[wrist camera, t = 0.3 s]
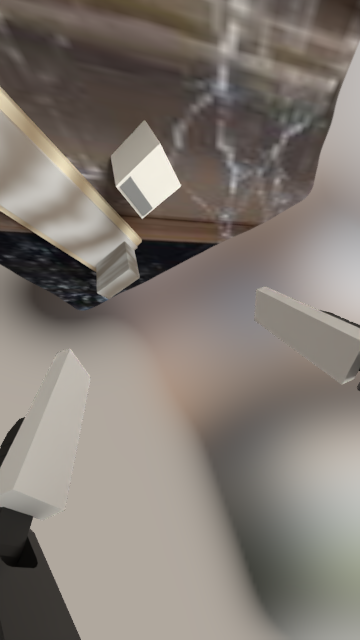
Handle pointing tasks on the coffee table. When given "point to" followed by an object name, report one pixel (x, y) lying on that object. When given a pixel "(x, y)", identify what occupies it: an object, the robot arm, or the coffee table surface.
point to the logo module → (143, 171)
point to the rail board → (61, 202)
